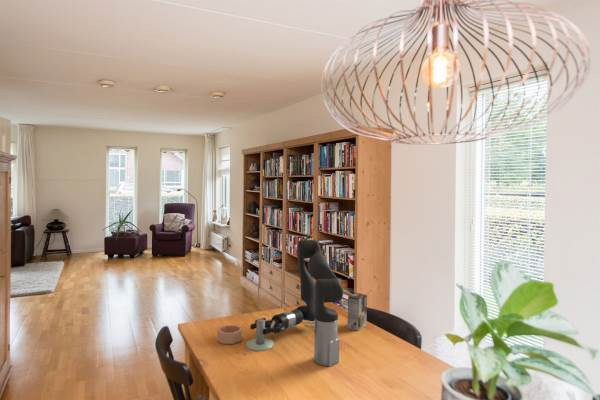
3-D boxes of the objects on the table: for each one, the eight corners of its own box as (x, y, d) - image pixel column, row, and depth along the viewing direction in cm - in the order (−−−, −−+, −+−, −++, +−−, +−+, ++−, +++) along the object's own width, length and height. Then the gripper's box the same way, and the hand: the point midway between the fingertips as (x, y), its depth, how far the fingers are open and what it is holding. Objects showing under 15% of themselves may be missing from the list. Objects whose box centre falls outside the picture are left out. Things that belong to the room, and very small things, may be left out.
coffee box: (355, 323, 205) (356, 292, 205) (366, 326, 202) (367, 294, 201) (346, 328, 198) (347, 296, 197) (358, 331, 194) (359, 298, 194)
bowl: (246, 340, 180) (246, 329, 180) (227, 346, 173) (227, 335, 173) (232, 333, 188) (232, 323, 187) (213, 339, 180) (213, 328, 180)
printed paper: (331, 316, 216) (331, 314, 216) (330, 338, 186) (330, 335, 186) (277, 313, 219) (277, 311, 219) (267, 335, 189) (267, 332, 189)
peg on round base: (279, 345, 175) (280, 321, 175) (258, 353, 166) (259, 327, 166) (261, 338, 183) (261, 314, 183) (240, 345, 175) (241, 320, 174)
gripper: (273, 309, 190) (246, 317, 178) (295, 316, 180) (267, 325, 168) (273, 324, 190) (246, 333, 178) (294, 333, 180) (267, 342, 168)
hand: (256, 329), depth 173 cm, fingers open, 8 cm apart
